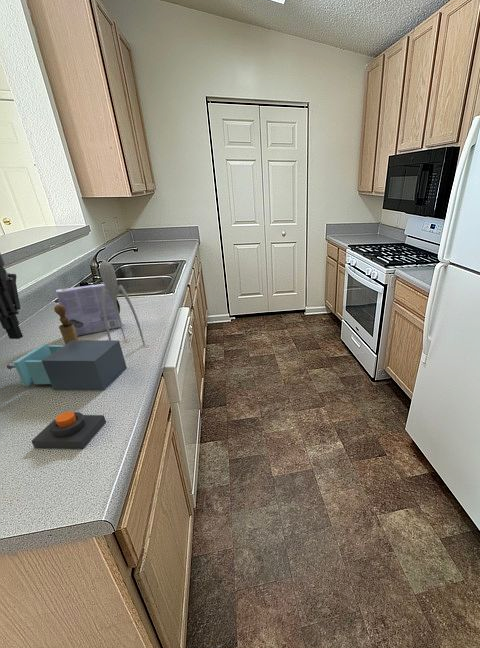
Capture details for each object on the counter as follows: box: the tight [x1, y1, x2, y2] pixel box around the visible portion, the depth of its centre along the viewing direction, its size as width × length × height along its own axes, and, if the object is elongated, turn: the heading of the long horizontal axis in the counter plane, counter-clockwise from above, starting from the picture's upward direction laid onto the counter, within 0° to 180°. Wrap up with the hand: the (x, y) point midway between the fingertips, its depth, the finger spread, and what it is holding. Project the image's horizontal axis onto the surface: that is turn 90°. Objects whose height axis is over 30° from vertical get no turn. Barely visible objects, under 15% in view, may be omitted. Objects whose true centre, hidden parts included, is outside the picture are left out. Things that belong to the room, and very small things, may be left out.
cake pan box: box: [55, 283, 123, 337], centre depth 127 cm, size 19×5×18 cm, turn 123°
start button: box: [54, 411, 76, 427], centre depth 75 cm, size 4×4×2 cm
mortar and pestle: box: [53, 304, 79, 345], centre depth 107 cm, size 7×6×18 cm
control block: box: [30, 411, 107, 450], centre depth 76 cm, size 11×9×4 cm
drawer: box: [6, 343, 65, 387], centre depth 97 cm, size 18×11×8 cm, turn 88°
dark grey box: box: [42, 339, 128, 392], centre depth 96 cm, size 15×13×10 cm
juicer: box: [98, 260, 146, 346], centre depth 111 cm, size 10×9×30 cm
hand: (16, 337), depth 93 cm, fingers closed
